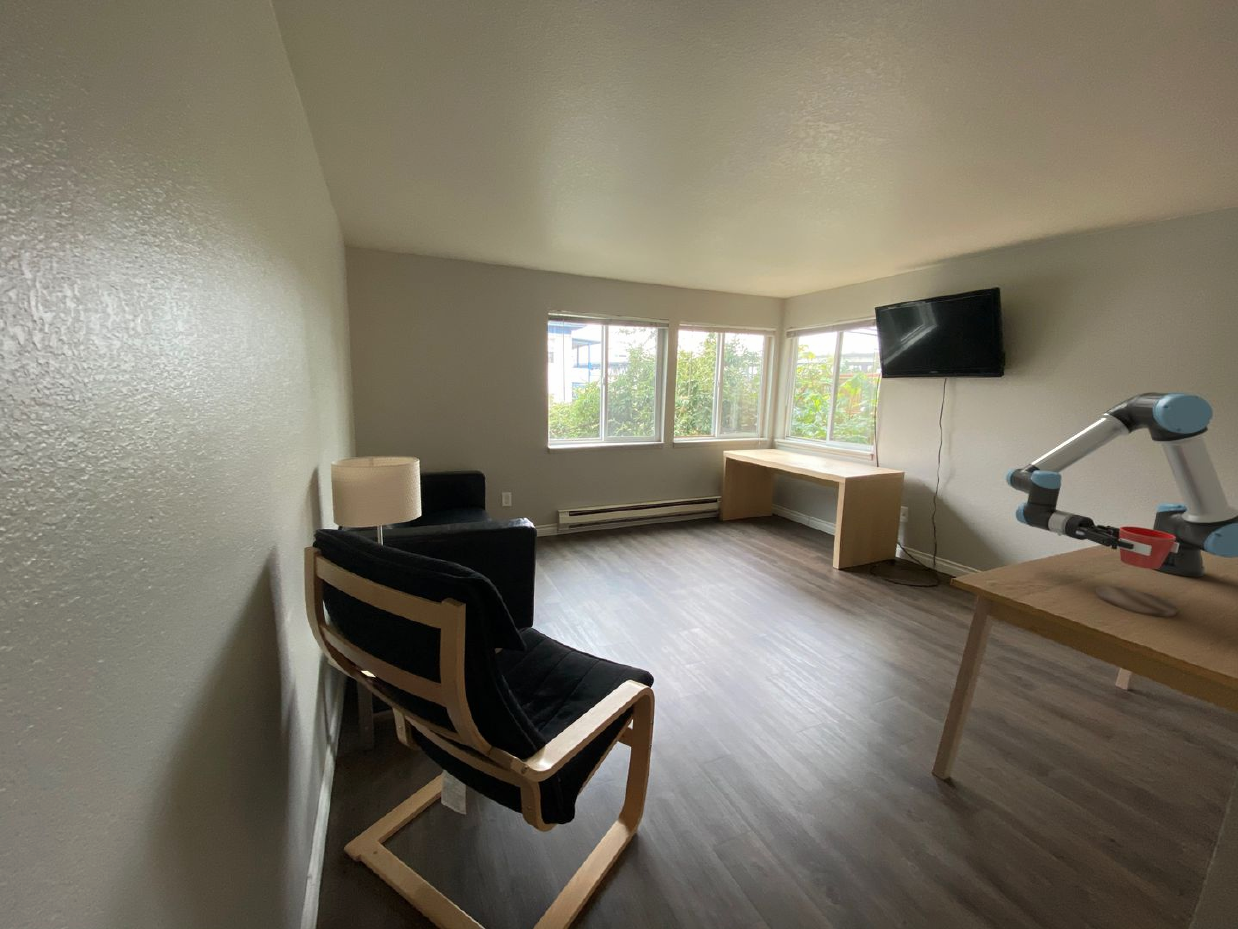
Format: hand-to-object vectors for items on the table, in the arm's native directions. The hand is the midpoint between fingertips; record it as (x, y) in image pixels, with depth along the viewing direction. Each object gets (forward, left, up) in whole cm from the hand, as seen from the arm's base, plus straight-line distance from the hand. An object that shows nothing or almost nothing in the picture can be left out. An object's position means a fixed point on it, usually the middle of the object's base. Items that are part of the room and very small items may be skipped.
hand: (1163, 549), depth 132 cm
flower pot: (+1, -4, -6) cm, 7 cm away
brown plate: (+1, -3, -18) cm, 18 cm away
